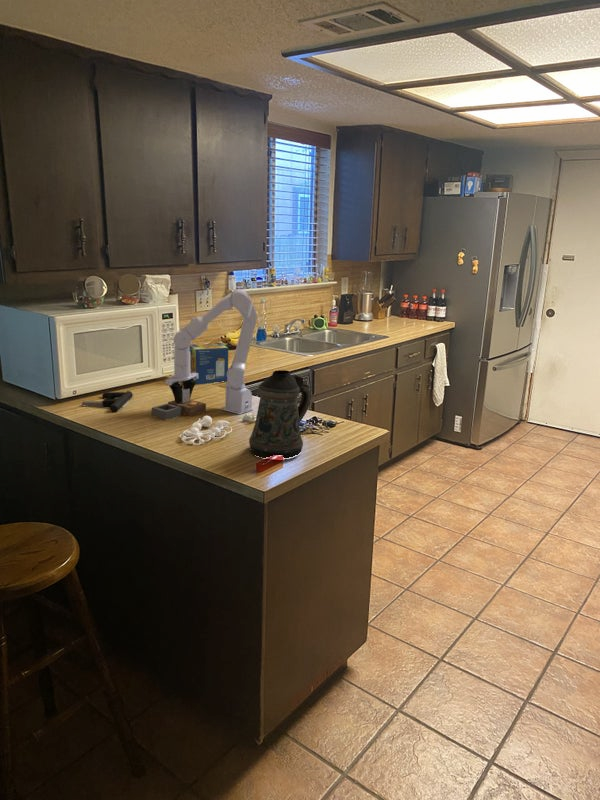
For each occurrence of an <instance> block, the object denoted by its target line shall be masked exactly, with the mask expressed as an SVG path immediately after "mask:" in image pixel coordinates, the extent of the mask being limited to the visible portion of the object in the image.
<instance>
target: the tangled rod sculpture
mask: <svg viewBox="0 0 600 800" xmlns="http://www.w3.org/2000/svg"><path fill="white" fill-rule="evenodd" d="M212 424H213V419H212V417H211V416H210V415H204V416H203V417H201V418H198V420H196V421H195V422H193V423H192V425H191V426H190V427H189V428H188V429H185V430H184V431H182V433H181V434H179V436H178V437H179V438H180V440H181V441H182V442H184V443H185V444H188V445H190V444H193V445H195V446H200V445H204V444H205V443H206V442H209V441H210V440H212V439H216V440H217V439H218V440H219V439H223V438H225V436H226V435H228V434H230V433H232V432H233V428H232V426H231V422H229V421H227V420H225V419H224V420H218V421H216V422H215V424H213V425H212ZM211 425H212V426H211ZM202 426H203V427H205V428H209V427H210V426H211V427H210V428H209V429H207V430H202ZM226 428H228V429H230V431H228V432H227V430H225V429H226ZM220 435H222V436H220ZM215 436H216V437H215ZM218 436H219V437H218ZM203 438H204V439H203ZM187 440H188V441H187ZM197 440H199V441H198V443H196V442H195V441H197Z"/></svg>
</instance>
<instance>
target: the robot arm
mask: <svg viewBox="0 0 600 800" xmlns="http://www.w3.org/2000/svg"><path fill="white" fill-rule="evenodd" d="M233 308H235V310H236V311H238V312H239V313H240V314H241V316H242V318H243V320H242V324H241V328H240V333H239V336H238V340H237V343H236V348H235V351H234V356H233V360H232V362H231V365H230V367H228V371H227V382H226V384H225V402H224V403H225V406H223V407H220V409H219V410H221V411H226V412H229V413H234V414H237V415H241V414H245V413H247V412H251V411H253V410H254V409H253V408H252V405H253V400H252V399H253V394H252V391H251V389H248V388H247V387H246V384H245V381H246V380H245V371H246V364H247V359H248V356H249V352H250V348H251V343H252V339H253V337H254V332H255V328H256V325H257V321H258V313H257V310H256V309H255V305H254V303H253V300H252V298H251V297H250V295H249V294H248V292H247V291H245V290H244V289H242V288H237V289H234V290H233V291H232V292H231V293H228V294H227V295H225V296H224V297H223V298H221V299H220V300H219V301H218V302H217V303H216V304H215V305H214V306H212V308H210V309H209V310H208V311H207V312H206V313H205V314H204V315H203V316H195V318H194V317H192V318H190V322H188V323H187V324H186V325H185V326H184V327H183V326H182V327H180V330H179V331H177V332H176V333H175V334H174V336H173V337H174V338H173V344H174V348H173V349H174V352H173V353H174V354H173V365H174V366H173V369H174V374H172V376H171V377H169V378H166V379H165V385H166V386H168V387H169V389H170V390H171V392H172V395H173V398H174V400H175V402H178V403H180V402H181V392H182V388H183V387H185V388H189V389H190V399H191V397H192V393H193V390H194V389H195V386H196V385H197V384H196V381H195V380H193V379H198V373H190V351H189V345H191V342H192V341H195V340H196V339H197V338H198V337H200V336H201V335H202V334H203V333H204V332H206V331H207V330H208V326H209V323H211V322H213V320H215V319H216V318H218V316H220V315H221V314H222V313H224V312H225V311H232V310H233ZM181 383H182V384H181Z"/></svg>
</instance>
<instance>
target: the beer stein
mask: <svg viewBox="0 0 600 800" xmlns="http://www.w3.org/2000/svg"><path fill="white" fill-rule="evenodd" d="M258 390H259V391H258V392H259V393H260V395H259V396H260V398H259V403H258V407H257V413H256V418H255V422H254V427H253V429H252V432H251V435H250V436H249V438H248V442H249V443H248V444H249V448H250V453H251V452H252V453H253V454H254V455H256V456H259V457H262V458H266V457H270V456H273V455H283V457H284V458H289V457H293V456H295V455H298V454H299V453H300V452H301V453H302V449H303V446H304V441H303V438H302V436H301V428H300V423H301V421H302V420H303V419H304V417H305V416H306V414H307V412H308V410H309V407H310V405H311V401H312V393H311V390H310V386H309V385H307V384H306V383H304V378H303V377H301V375H300V376H299V375H298V374H296V373H294V374H291V373H290V371H289V370H283V369H279V370H274V371H273V373H272V374H271V375H270V376H269V377H267V378H266V379H264V380H263V381H262V382H261V383H259V384H258ZM300 393H301V398H300V402H299V404H298V396H299V394H300ZM252 453H251V454H252ZM253 454H252V455H253ZM254 455H253V456H254ZM256 456H255V457H256Z"/></svg>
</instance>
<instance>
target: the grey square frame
mask: <svg viewBox="0 0 600 800" xmlns="http://www.w3.org/2000/svg"><path fill="white" fill-rule="evenodd" d="M151 416H152V417H153V418H158V419H160V420H161V419H162V420H164V421H168V420H171V418H172V419H173V418H174V417H175V418H178V417H181V416H182V414H181V407H178V406H174V405H171V404H168V403H164V404H160V405H156V406H153V407H151ZM175 418H174V419H175Z"/></svg>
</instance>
